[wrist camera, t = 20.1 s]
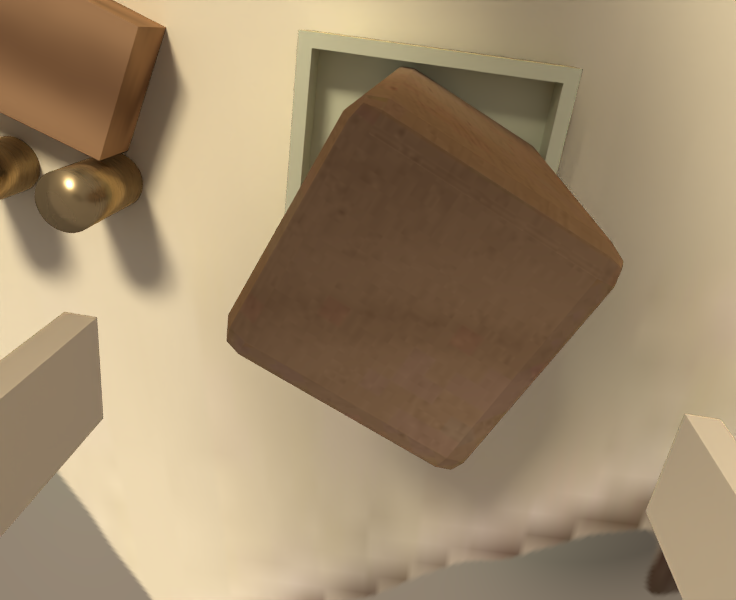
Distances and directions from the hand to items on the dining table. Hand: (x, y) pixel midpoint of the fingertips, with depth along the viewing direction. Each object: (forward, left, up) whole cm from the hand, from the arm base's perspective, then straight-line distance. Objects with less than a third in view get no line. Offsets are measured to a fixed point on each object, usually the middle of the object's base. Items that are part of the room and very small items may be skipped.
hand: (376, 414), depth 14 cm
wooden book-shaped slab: (-4, -23, -27) cm, 36 cm away
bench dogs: (+3, -23, -27) cm, 35 cm away
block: (0, +1, -26) cm, 26 cm away
